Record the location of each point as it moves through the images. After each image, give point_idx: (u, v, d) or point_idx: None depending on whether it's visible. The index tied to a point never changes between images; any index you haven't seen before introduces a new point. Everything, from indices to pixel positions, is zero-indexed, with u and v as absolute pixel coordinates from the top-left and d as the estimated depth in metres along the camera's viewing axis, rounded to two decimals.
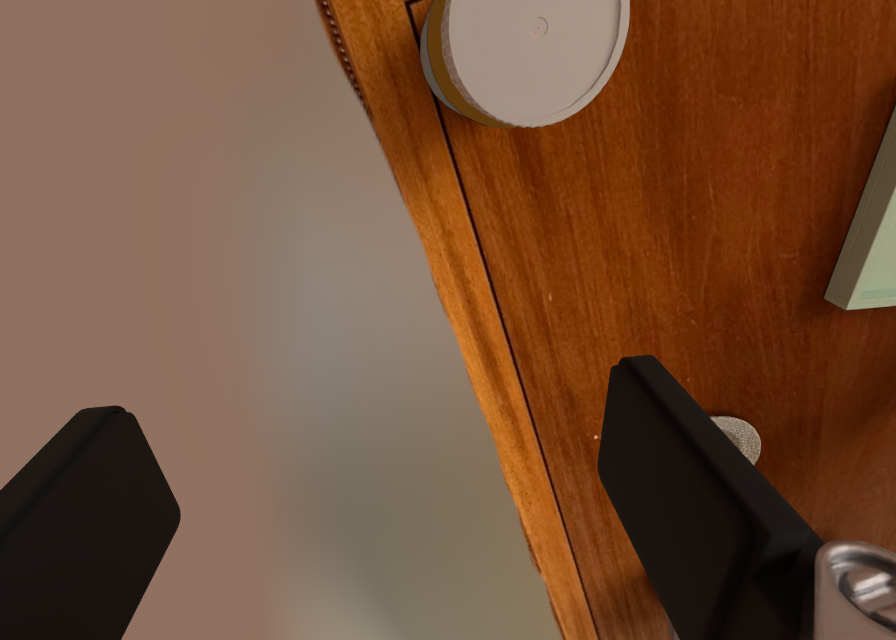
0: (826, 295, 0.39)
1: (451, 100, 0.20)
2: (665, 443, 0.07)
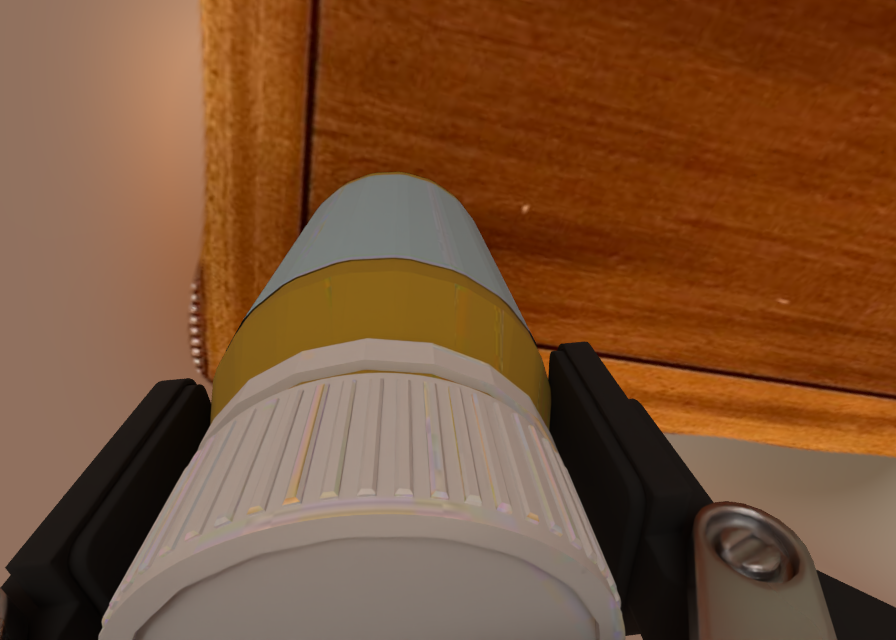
0: None
1: None
2: (585, 420, 0.07)
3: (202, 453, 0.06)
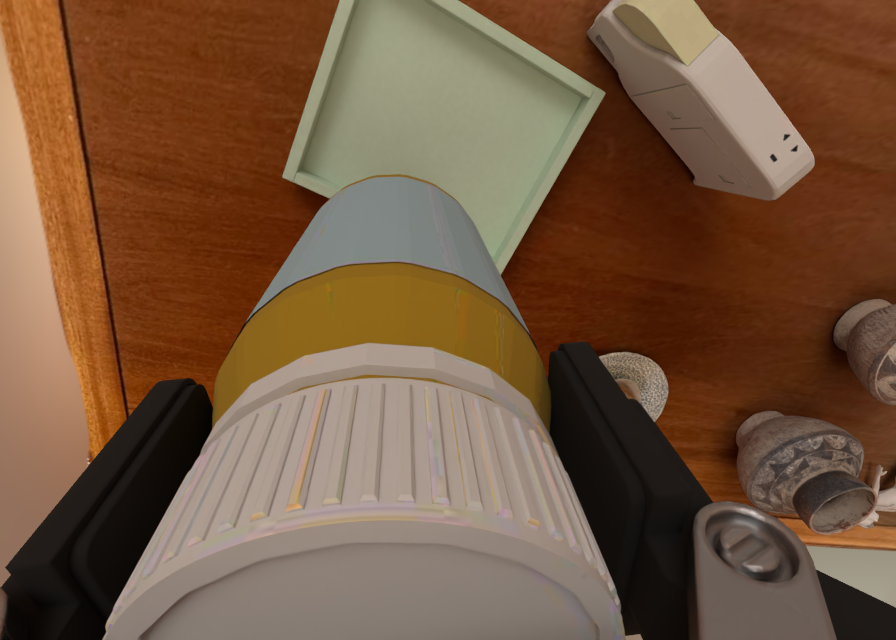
0: None
1: None
2: (585, 420, 0.07)
3: (205, 458, 0.06)
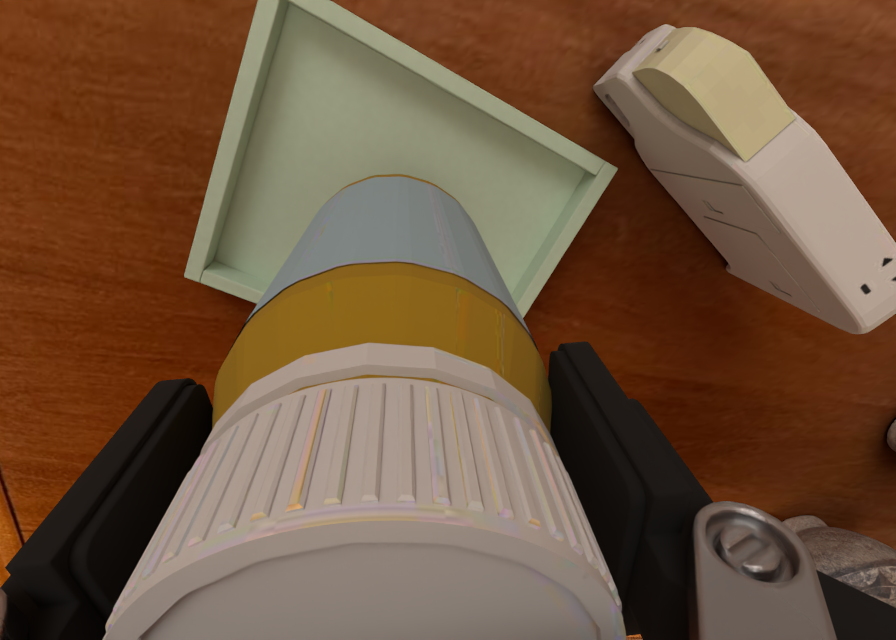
0: None
1: None
2: (585, 420, 0.07)
3: (205, 458, 0.06)
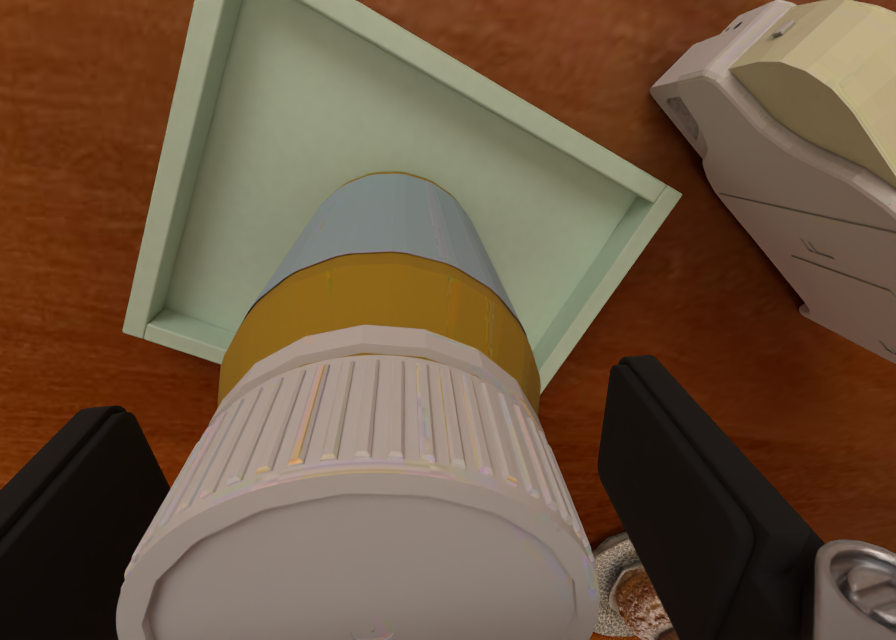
0: None
1: None
2: (665, 443, 0.07)
3: (213, 427, 0.06)
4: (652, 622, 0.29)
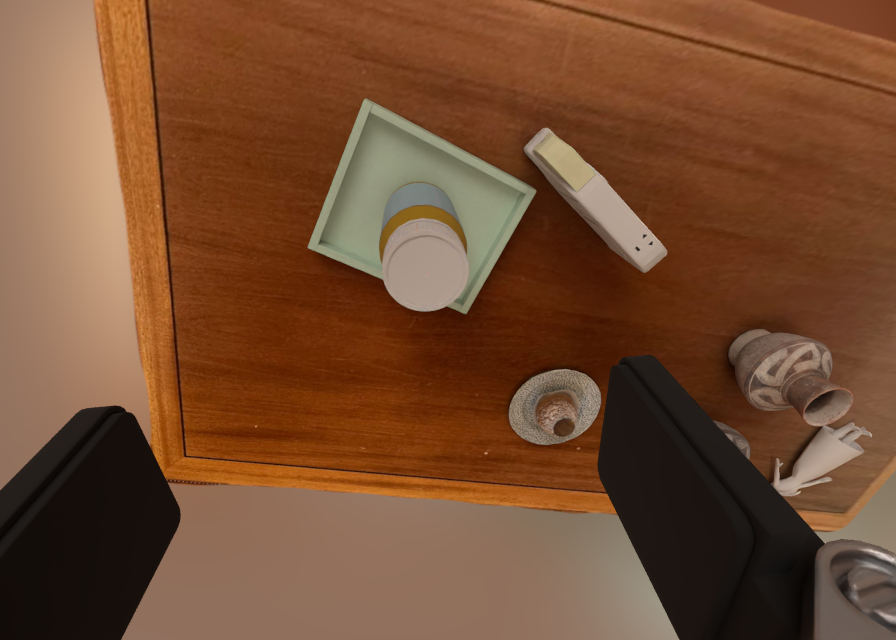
0: None
1: None
2: (665, 443, 0.07)
3: (395, 234, 0.32)
4: (551, 418, 0.55)
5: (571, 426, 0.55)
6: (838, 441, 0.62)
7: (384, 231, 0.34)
